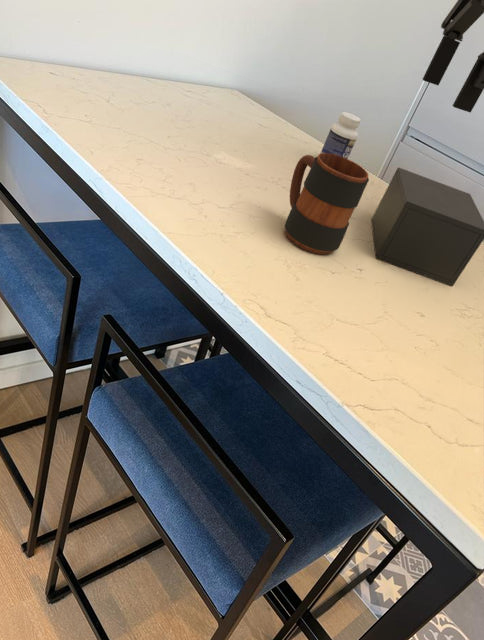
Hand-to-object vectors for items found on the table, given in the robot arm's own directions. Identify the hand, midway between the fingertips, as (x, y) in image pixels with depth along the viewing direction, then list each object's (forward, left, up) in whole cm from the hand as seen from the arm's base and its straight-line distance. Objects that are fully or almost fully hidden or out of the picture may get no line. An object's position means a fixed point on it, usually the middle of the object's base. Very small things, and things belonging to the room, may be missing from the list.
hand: (444, 95), depth 87 cm
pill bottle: (+10, -18, -21) cm, 29 cm away
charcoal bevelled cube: (-4, +10, -21) cm, 24 cm away
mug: (+14, +18, -21) cm, 31 cm away
